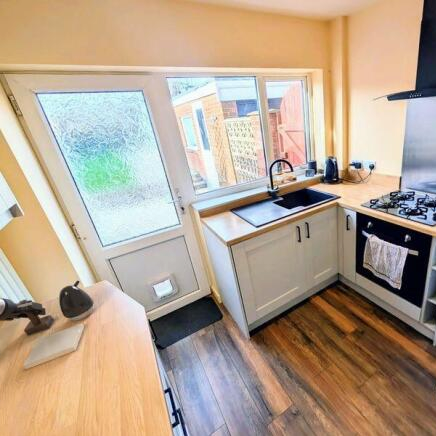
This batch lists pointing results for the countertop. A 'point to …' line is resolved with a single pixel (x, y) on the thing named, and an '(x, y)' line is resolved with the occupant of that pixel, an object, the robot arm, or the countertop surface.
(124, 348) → the countertop surface
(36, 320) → the brown peg on base
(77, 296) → the black pear
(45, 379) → the countertop surface
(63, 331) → the tile
